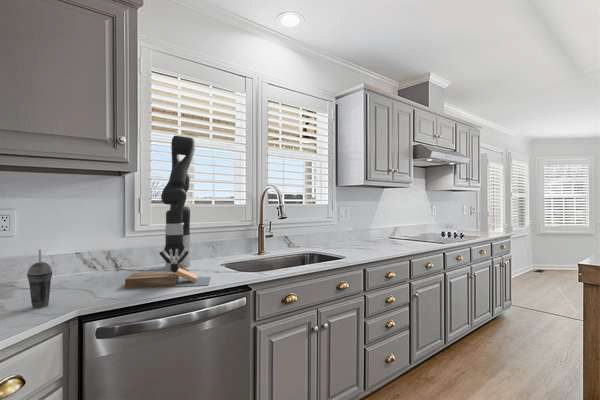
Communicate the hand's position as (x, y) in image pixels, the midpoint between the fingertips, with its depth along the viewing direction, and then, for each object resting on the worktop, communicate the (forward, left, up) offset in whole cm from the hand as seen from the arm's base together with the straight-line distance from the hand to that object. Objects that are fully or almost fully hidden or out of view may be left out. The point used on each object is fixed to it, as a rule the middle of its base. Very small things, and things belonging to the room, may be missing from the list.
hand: (174, 272), depth 156 cm
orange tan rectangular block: (0, +5, -3) cm, 5 cm away
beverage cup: (+26, -41, -5) cm, 49 cm away
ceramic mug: (-20, -2, -5) cm, 21 cm away
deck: (0, -9, -5) cm, 10 cm away
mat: (0, +8, -5) cm, 9 cm away
